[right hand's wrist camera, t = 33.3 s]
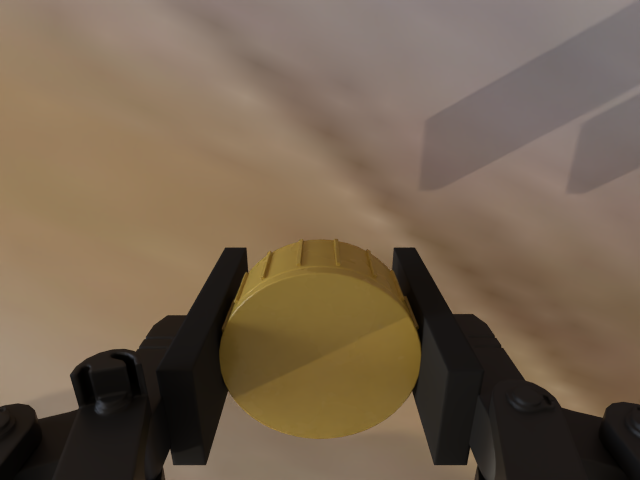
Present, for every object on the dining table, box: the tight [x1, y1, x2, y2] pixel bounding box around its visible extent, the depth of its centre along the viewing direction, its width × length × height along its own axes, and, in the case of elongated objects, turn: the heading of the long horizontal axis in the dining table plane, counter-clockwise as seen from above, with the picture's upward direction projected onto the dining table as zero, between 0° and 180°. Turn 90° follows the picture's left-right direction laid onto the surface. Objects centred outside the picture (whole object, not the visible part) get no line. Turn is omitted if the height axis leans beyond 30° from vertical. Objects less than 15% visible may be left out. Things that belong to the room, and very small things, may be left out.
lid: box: [219, 239, 421, 439], centre depth 12 cm, size 6×6×2 cm
